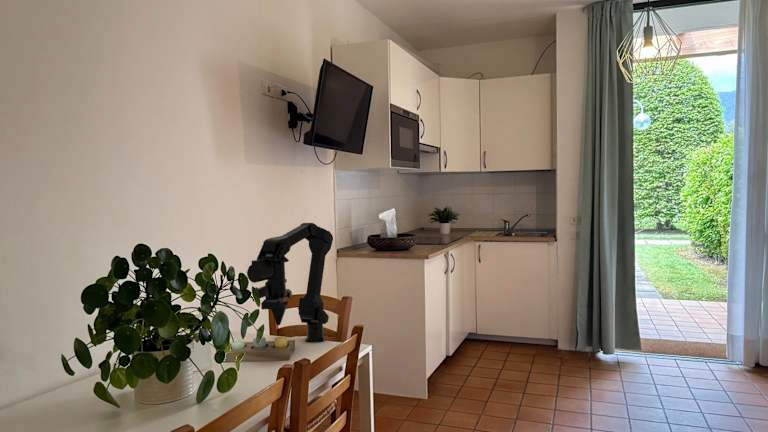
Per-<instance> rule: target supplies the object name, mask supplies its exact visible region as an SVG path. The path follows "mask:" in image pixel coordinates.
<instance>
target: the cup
mask: <svg viewBox="0 0 768 432" xmlns="http://www.w3.org/2000/svg"><path fill="white" fill-rule="evenodd" d="M192 313H193V312H192ZM199 313H200V312H195V313H193V314H194V315H195V316H197V317H198V318H199V319H200V318H201V315H200V314H199ZM192 359H193V361H194V362H195V364H196V365H197V366H198V368H199V369H200V371H199V372H201V371H205V370H208V369H210V368H211V367H212V347H211V342H210V343H206V344H205V345H204V346H202V345H201V344H200V343H195V345H194V354H193V355H192Z"/></svg>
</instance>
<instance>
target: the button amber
mask: <svg viewBox="0 0 768 432" xmlns="http://www.w3.org/2000/svg"><path fill="white" fill-rule="evenodd" d="M287 340H288V337H287V336H285V335H284V336H277V337H274V341H275V348H287Z"/></svg>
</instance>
